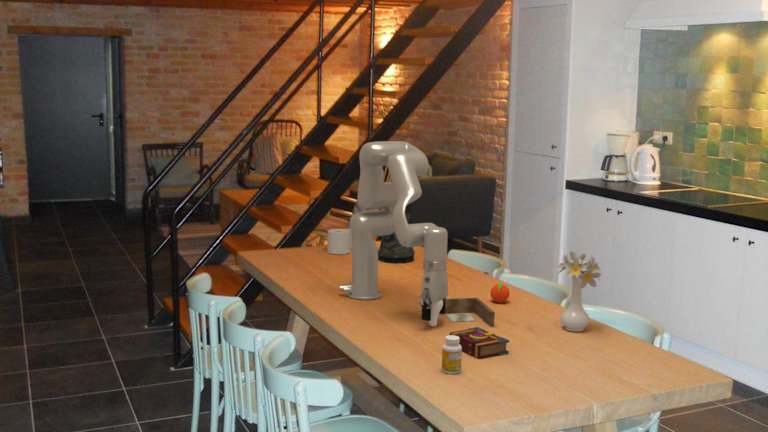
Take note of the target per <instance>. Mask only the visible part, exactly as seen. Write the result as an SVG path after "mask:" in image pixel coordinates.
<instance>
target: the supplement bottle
mask: <svg viewBox="0 0 768 432" xmlns="http://www.w3.org/2000/svg"><path fill="white" fill-rule="evenodd" d="M444 342H445V343H444V344H443V345H442V352H441V353H442V355H441V356H442V358H441V371H442V372H443V373H445V374H450V375H452V374H453V375H454V374H459V373H461V371H462V360H463V359H462V357H463V354H462V353H463V351H462V347H461V345H460V344H459V342H460V337H458V336H454V335H450V334H449V335H446V336H445V341H444Z"/></svg>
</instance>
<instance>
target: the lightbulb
mask: <svg viewBox="0 0 768 432" xmlns="http://www.w3.org/2000/svg"><path fill="white" fill-rule="evenodd" d="M427 299H429V298H427ZM426 303H427V304H428V303H429V302H426ZM442 307H443V300H439V301H437V302H433V301H432V304H431V306H430V309H431V320H430V321H428V324H429V326H430V327H432V328H434V327H436V326H437V325H438V319H439V315H440V314H439V312H440V310H441V309H442Z"/></svg>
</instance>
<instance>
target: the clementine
mask: <svg viewBox="0 0 768 432" xmlns="http://www.w3.org/2000/svg"><path fill="white" fill-rule="evenodd" d="M490 297H491V299H492V300H493V301H494V302H495V303H498V304H502V303H505V302H506V301H507V300H509V298H510V289H509V288H508V286H507V285H505V284H503V283H501V282H500V283H496V284H494V285H493V286H492V287H491V289H490Z"/></svg>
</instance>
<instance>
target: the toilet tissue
mask: <svg viewBox="0 0 768 432" xmlns="http://www.w3.org/2000/svg"><path fill="white" fill-rule="evenodd" d="M326 233H327V234H326V235H327V239H326V241H327V245H326V246H327V247H326V248H327V250H326V251H327V252H326V253H328V254H333V255H346V254H347V253H348V254H351V250H352V235H351V229H350V228H332V229H327V231H326Z"/></svg>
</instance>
